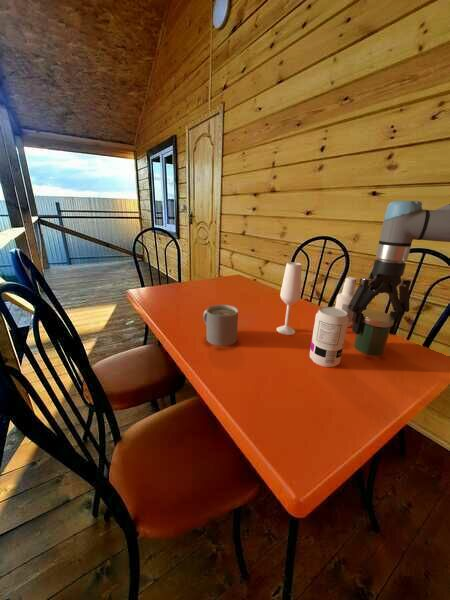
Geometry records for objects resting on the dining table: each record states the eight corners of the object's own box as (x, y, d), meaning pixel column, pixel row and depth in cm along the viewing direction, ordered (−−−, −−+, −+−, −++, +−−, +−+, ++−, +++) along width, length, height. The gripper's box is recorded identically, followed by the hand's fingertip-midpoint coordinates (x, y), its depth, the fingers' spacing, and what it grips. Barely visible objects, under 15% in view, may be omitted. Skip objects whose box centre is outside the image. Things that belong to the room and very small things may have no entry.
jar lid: (351, 317, 79) (353, 311, 78) (372, 313, 82) (373, 308, 82) (378, 329, 71) (380, 323, 70) (399, 325, 75) (401, 319, 74)
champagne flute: (274, 326, 93) (281, 261, 85) (292, 326, 94) (300, 261, 86) (279, 334, 87) (287, 265, 79) (298, 334, 87) (308, 265, 79)
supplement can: (303, 355, 75) (310, 307, 70) (326, 350, 78) (334, 305, 73) (321, 370, 68) (331, 319, 63) (346, 365, 70) (357, 315, 65)
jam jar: (381, 345, 82) (389, 315, 79) (386, 358, 75) (395, 325, 71) (352, 339, 85) (359, 310, 81) (354, 352, 78) (362, 320, 74)
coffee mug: (242, 341, 82) (244, 312, 78) (216, 349, 76) (217, 318, 73) (220, 325, 92) (221, 299, 89) (196, 331, 87) (195, 304, 84)
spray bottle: (347, 329, 93) (358, 281, 87) (329, 323, 97) (337, 277, 91) (354, 324, 97) (364, 278, 91) (336, 318, 102) (344, 275, 96)
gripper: (418, 258, 75) (399, 327, 82) (344, 257, 73) (331, 326, 81) (440, 263, 68) (417, 338, 75) (358, 262, 66) (342, 338, 74)
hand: (372, 332), depth 78 cm, fingers open, 10 cm apart
